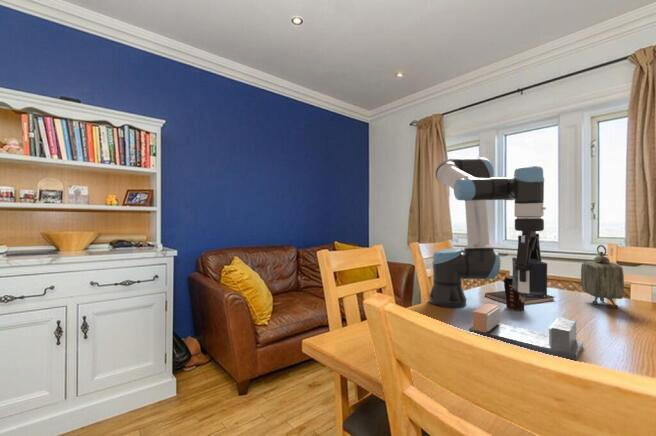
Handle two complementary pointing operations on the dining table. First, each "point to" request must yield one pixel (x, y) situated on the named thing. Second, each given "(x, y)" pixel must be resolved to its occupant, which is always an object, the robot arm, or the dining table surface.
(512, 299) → the coffee cup
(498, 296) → the hardcover book
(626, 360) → the dining table surface
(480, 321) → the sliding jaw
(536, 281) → the small box
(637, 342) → the dining table surface
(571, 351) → the vise
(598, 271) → the tabletop clock
